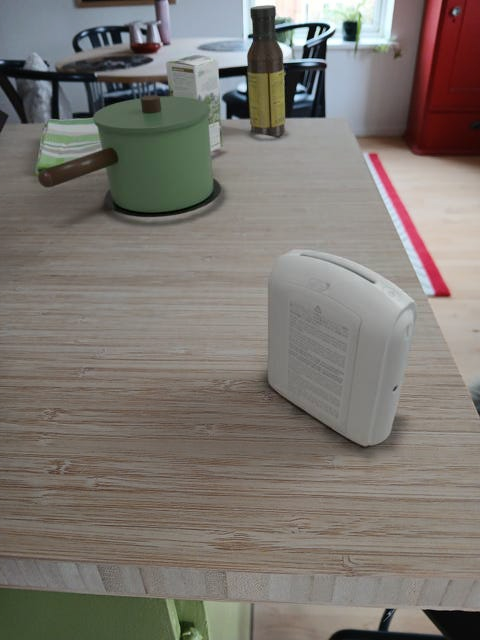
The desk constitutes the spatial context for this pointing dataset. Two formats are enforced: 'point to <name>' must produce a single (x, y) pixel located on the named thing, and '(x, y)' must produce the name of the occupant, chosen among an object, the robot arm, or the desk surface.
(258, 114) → the sauce bottle
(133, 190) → the pot
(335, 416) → the photo printer
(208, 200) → the trivet
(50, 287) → the desk surface
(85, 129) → the dish towel
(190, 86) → the syrup box
